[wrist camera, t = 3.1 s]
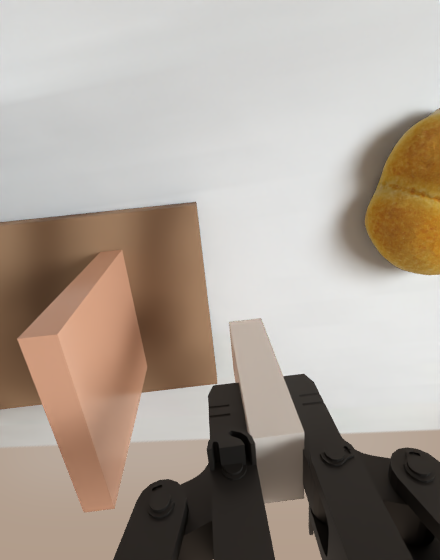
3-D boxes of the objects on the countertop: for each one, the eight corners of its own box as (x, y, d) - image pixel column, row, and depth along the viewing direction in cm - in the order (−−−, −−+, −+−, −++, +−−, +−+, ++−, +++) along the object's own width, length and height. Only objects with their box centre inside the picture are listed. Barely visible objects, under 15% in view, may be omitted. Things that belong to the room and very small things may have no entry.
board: (196, 201, 19) (196, 205, 17) (216, 372, 23) (217, 383, 22) (-124, 235, 18) (-145, 240, 17) (-40, 402, 23) (-52, 415, 21)
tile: (122, 249, 18) (57, 334, 10) (147, 366, 21) (114, 508, 13) (97, 252, 18) (12, 339, 10) (126, 369, 21) (80, 512, 13)
